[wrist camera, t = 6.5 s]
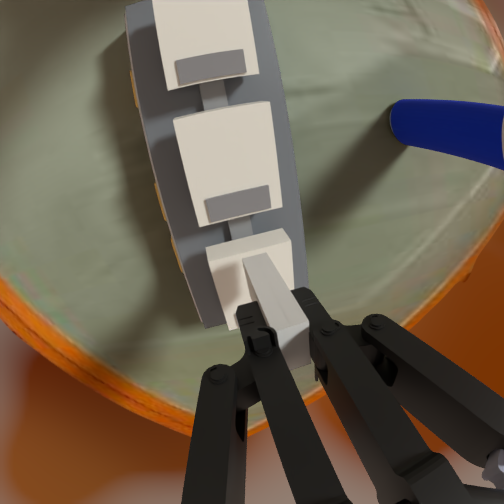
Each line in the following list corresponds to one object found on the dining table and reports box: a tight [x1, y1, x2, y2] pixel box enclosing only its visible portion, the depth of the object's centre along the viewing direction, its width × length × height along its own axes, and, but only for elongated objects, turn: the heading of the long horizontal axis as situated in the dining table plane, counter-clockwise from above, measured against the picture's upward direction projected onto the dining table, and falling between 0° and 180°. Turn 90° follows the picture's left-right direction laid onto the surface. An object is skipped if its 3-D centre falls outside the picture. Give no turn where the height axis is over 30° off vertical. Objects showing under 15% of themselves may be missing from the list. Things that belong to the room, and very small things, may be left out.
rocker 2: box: [173, 101, 283, 227], centre depth 17 cm, size 7×6×2 cm
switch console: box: [124, 0, 309, 329], centre depth 20 cm, size 28×10×5 cm, turn 10°
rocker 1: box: [152, 0, 259, 91], centre depth 12 cm, size 7×6×2 cm
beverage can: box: [390, 99, 504, 170], centre depth 17 cm, size 5×5×15 cm
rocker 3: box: [206, 228, 294, 330], centre depth 21 cm, size 7×6×2 cm
